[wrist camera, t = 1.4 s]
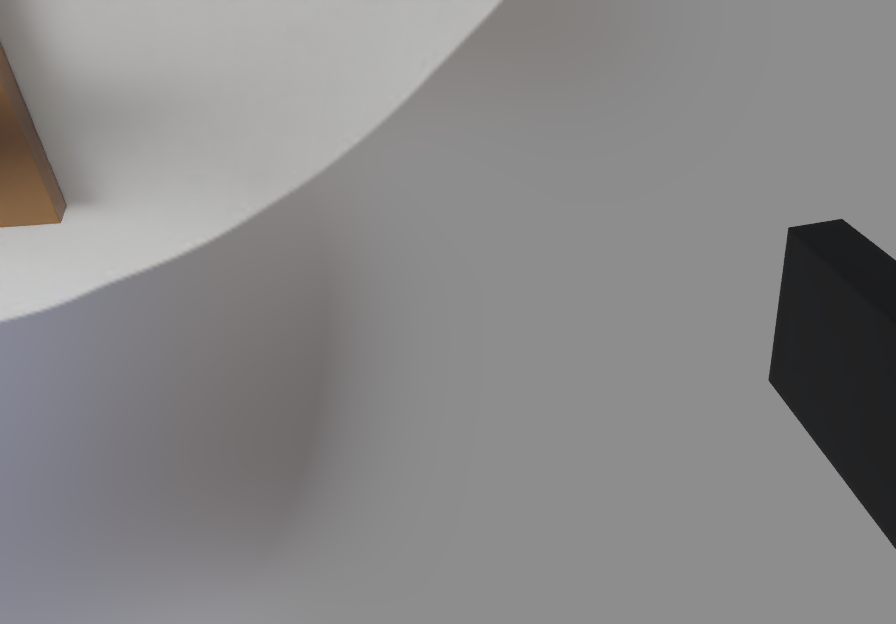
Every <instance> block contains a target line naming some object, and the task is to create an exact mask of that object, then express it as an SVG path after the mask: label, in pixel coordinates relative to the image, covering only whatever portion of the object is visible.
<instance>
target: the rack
mask: <svg viewBox="0 0 896 624" xmlns="http://www.w3.org/2000/svg"><path fill="white" fill-rule="evenodd" d="M65 209H66V204H65V202H64V199H63V197H62V194H61V192H60V189H59V187H58V184H57V182H56V179H55V177H54V174H53V172H52V170H51V167H50V165H49V162H48V160H47V157H46V155H45V152H44V150H43V147H42V145H41V142H40V140H39V137H38V135H37V133H36V130H35V128H34V125H33V123H32V120H31V118H30V115H29V113H28V110H27V108H26V105H25V103H24V100H23V98H22V96H21V93H20V91H19V88H18V86H17V83H16V81H15V78H14V76H13V73H12V71H11V68H10V66H9V63H8V61H7V59H6V56H5V54H4V51H3V49H2V46H1V44H0V227H13V226H27V225H41V224H56V223H61V221H62V218H63V215H64V212H65Z"/></svg>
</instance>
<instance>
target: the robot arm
mask: <svg viewBox="0 0 896 624" xmlns="http://www.w3.org/2000/svg"><path fill="white" fill-rule="evenodd" d="M769 382H770V383H771V384H772V386H773V387H774V388H775V390H776V391H777V392H778V393H779V395H780V396H781V397H782V399H783V400H784V401H785V403H786V404H787V405H788V407H789V408H790V409H791V411H792V412H793V413H794V415H795V416H796V417H797V419H798V420H799V421H800V422H801V424H802V425H803V427H804V428H805V429H806V431H807V432H808V433H809V435H810V436H811V437H812V439H813V440H814V441H815V443H816V444H817V445H818V446H819V448H820V449H821V451H822V452H823V453H824V454H825V456H826V457H827V458H828V460H829V461H830V462H831V464H832V465H833V466H834V468H835V469H836V470H837V472H838V473H839V474H840V476H841V477H842V478H843V480H844V481H845V482H846V484H847V485H848V486H849V488H850V489H851V490H852V491H853V493H854V494H855V496H856V497H857V498H858V500H859V501H860V502H861V504H862V505H863V506H864V507H865V509H866V510H867V511H868V513H869V514H870V515H871V517H872V518H873V519H874V521H875V522H876V523H877V525H878V526H879V527H880V529H881V530H882V531H883V533H884V534H885V535H886V537H887V538H888V539H889V541H890V542H891V543H892V545H893V546H894V547H895V549H896V260H894V259H893V258H892V257H891V256H889V255H888V254H887V253H885V252H884V251H883V250H881V249H880V248H879V247H878V246H876V245H875V244H874V243H872V242H871V241H869V239H867V238H866V237H865V236H863V235H862V234H861V233H860V232H858V231H857V230H856V229H854V228H853V227H852V226H850V225H849V224H848V223H847V222H845V221H844V220H843V219H838V220H832V221H826V222H820V223H814V224H808V225H802V226H795V227H789V228H788V235H787V244H786V251H785V258H784V266H783V274H782V281H781V290H780V296H779V304H778V312H777V319H776V327H775V335H774V343H773V351H772V358H771V366H770V374H769Z"/></svg>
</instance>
